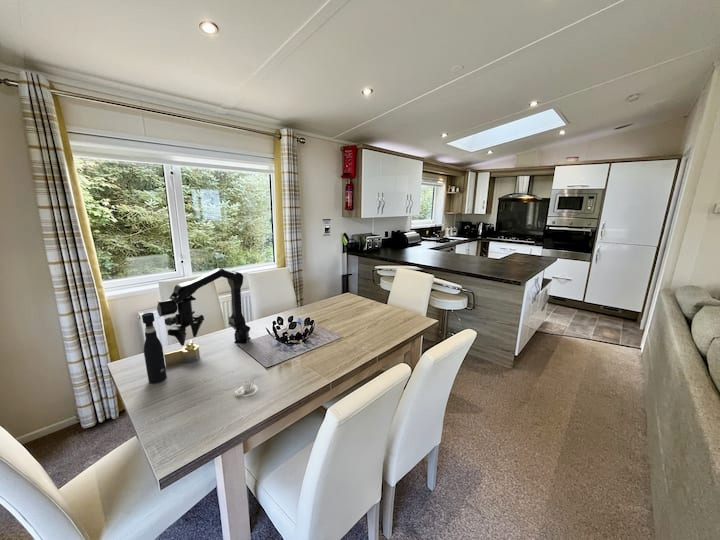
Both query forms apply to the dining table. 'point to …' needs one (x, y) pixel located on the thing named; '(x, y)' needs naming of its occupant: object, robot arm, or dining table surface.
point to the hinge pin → (189, 346)
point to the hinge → (182, 355)
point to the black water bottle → (153, 352)
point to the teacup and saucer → (246, 388)
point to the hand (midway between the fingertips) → (188, 341)
